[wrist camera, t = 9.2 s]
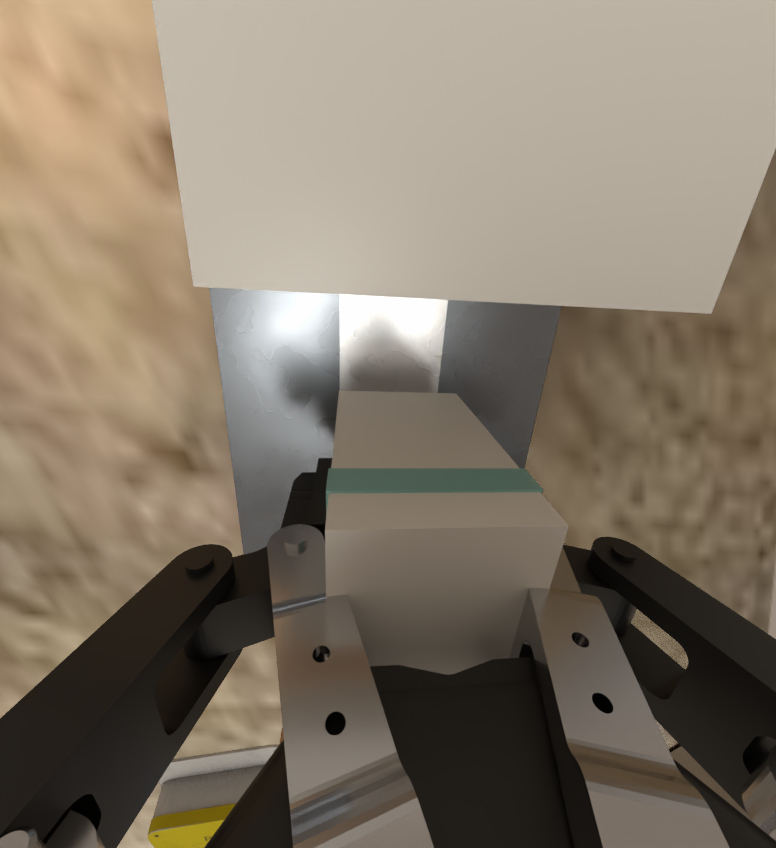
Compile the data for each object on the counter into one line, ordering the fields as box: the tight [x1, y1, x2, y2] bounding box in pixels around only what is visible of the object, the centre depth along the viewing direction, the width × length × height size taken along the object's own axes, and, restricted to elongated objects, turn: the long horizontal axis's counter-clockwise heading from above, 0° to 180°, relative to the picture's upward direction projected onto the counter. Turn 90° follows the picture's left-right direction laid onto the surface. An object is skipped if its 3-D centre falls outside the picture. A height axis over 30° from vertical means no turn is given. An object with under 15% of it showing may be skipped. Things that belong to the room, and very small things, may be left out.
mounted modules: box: [152, 0, 776, 743], centre depth 11 cm, size 7×21×9 cm, turn 177°
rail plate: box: [209, 287, 561, 554], centre depth 16 cm, size 13×22×1 cm, turn 177°
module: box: [325, 391, 569, 675], centre depth 10 cm, size 4×6×7 cm
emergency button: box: [148, 745, 279, 848], centre depth 26 cm, size 9×4×15 cm
